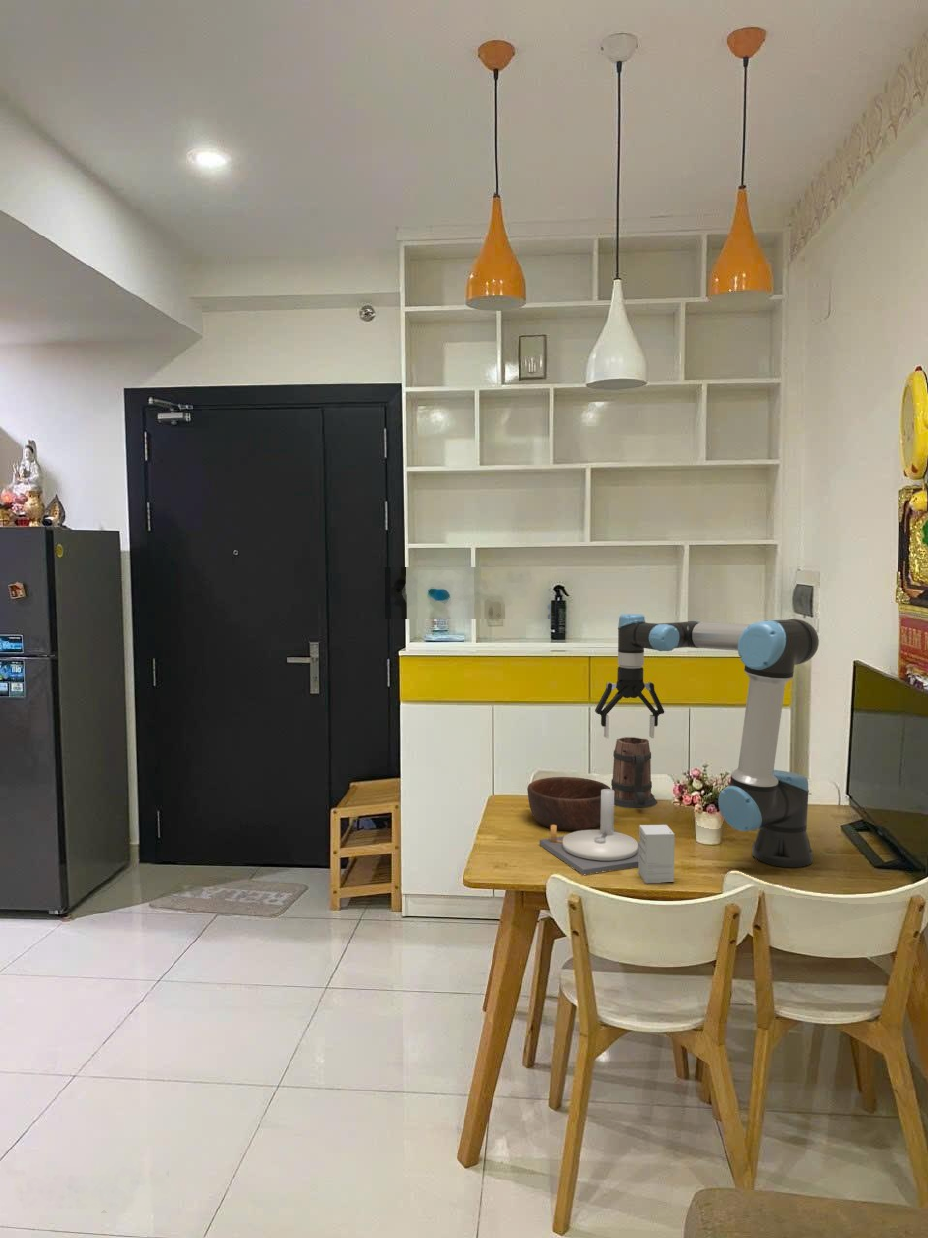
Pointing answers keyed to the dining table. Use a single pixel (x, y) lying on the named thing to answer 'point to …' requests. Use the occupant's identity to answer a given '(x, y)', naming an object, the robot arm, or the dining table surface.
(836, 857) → the dining table surface
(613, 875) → the dining table surface
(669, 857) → the supplement box
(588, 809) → the wooden bowl
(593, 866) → the dial plate
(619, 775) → the tankard
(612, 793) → the grey round-based post piece
